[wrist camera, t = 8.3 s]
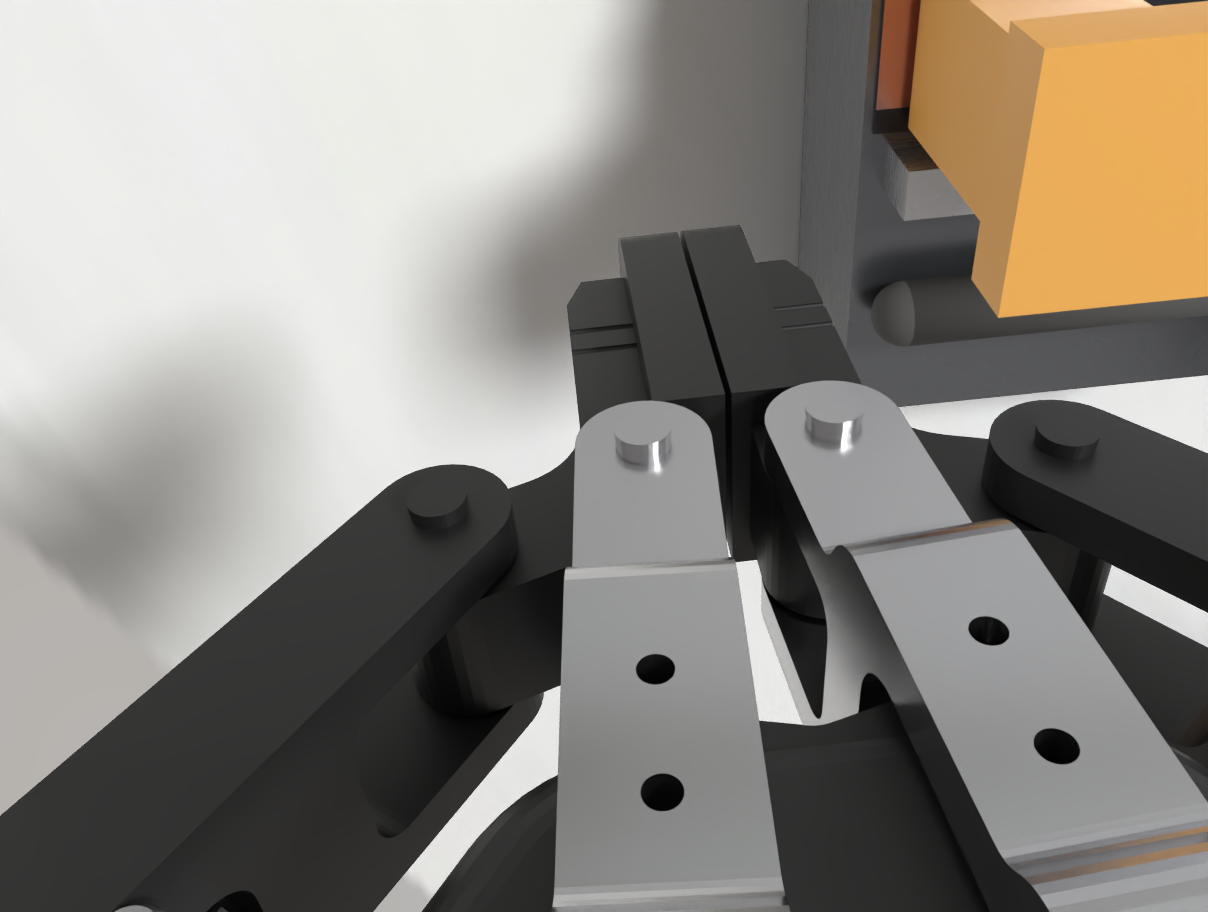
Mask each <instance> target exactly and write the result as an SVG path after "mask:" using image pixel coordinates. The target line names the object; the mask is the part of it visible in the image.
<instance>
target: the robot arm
mask: <svg viewBox="0 0 1208 912" xmlns="http://www.w3.org/2000/svg"><path fill="white" fill-rule="evenodd" d="M619 259H620V272H621V278H615V279H606V280H597V281H588V282H581V284H580V286H579V287H578V289H577V290H576V292H575V294H574V295H573V297H572V298H571V300H570V302H569V303H568V305H567V310H568V319H569V329H570V338H571V347H572V356H573V366H574V375H575V384H576V394H577V403H578V412H579V422H580V431H579V433H578V435H577V438H576V443H575V449H574V450H573V452H572V453H571V454H570V455H569V457H568V458H567V459H566V460H565V461H564V462H563V463H561V464H560V465H559V466H558V467H556V468H555V469H553V470H552V471H550V472H549V473H547V474H545V475H543V476H541V477H539V478H537V479H534V480H532V481H529V482H526V483H524V484H521V485H518V486H515V487H512V488H509V489H508V488H507V486H506V485H505V484H504V483H503V481H502V480H501V479H500V478H498V477H497V476H495V475H494V474H493V473H490V472H488V471H486V470H484V469H481V468H477V467H474V466H468V465H454V464H451V465H439V466H434V467H428V468H425V469H421V470H418V471H415V472H413V473H410V474H408V475H406V476H404V477H402V478H400V479H398V480H397V481H395V482H394V483H392V484H391V485H389V486H388V487H387V488H385V489H384V490H383V491H382V492H381V493H380V494H378V495H377V496H376V497H375V498H374V499H373V500H371V501H370V502H369V503H368V504H367V505H365V506H364V507H363V508H362V509H361V510H360V511H358V512H357V513H356V514H355V515H354V516H353V517H351V518H350V519H349V520H348V521H347V522H345V523H344V524H343V525H342V526H341V527H340V528H338V529H337V530H336V531H335V532H334V533H333V534H331V535H330V536H329V537H328V538H327V539H325V540H324V541H323V542H322V543H321V544H320V545H318V546H317V547H316V548H315V549H314V550H313V551H311V552H310V553H309V554H308V555H307V556H305V557H304V558H303V559H302V560H301V561H300V562H298V563H297V564H296V565H295V566H294V567H293V568H291V569H290V570H289V571H288V572H287V573H285V574H284V575H283V576H282V577H281V578H280V579H278V580H277V581H276V582H275V583H274V584H273V585H271V586H270V587H269V588H268V589H267V590H265V591H264V592H263V593H262V594H261V595H260V596H258V597H257V598H256V599H255V600H254V601H252V602H251V603H250V604H249V605H248V606H247V607H245V608H244V609H243V610H242V611H241V612H240V613H238V614H237V615H236V616H235V617H234V618H232V619H231V620H230V621H229V622H228V623H227V624H225V625H224V626H223V627H222V628H221V629H220V630H218V631H217V632H216V633H215V634H214V635H212V636H211V637H210V638H209V639H208V640H207V641H205V642H204V643H203V644H202V645H201V646H200V647H198V648H197V649H196V650H195V651H194V652H192V653H191V654H190V655H189V656H188V657H187V658H185V659H184V660H183V661H182V662H181V663H180V664H178V665H177V666H176V667H175V668H174V669H172V670H171V671H170V672H169V673H168V674H167V675H165V676H164V677H163V678H162V679H161V680H160V681H158V682H157V683H156V684H155V685H154V686H152V687H151V688H150V689H149V690H148V691H147V692H145V693H144V694H143V695H142V696H141V697H140V698H138V699H137V700H136V701H135V702H134V703H132V704H131V705H130V706H129V707H128V708H127V709H125V710H124V711H123V712H122V713H121V714H120V715H118V716H117V717H116V718H115V719H114V720H112V721H111V722H110V723H109V724H108V725H107V726H105V727H104V728H103V729H102V730H101V731H100V732H98V733H97V734H96V735H95V736H94V737H92V738H91V739H90V740H89V741H88V742H87V743H85V744H84V745H83V746H82V747H81V748H80V749H78V750H77V751H76V752H75V753H74V754H72V755H71V756H70V757H69V758H68V759H67V760H65V761H64V762H63V763H62V764H61V765H60V766H58V767H57V768H56V769H55V770H54V771H52V772H51V773H50V774H49V775H48V776H47V777H45V778H44V779H43V780H42V781H41V782H39V783H38V784H37V785H36V786H35V787H34V788H32V789H31V790H30V791H29V792H28V793H27V794H25V795H24V796H23V797H22V798H21V799H19V800H18V801H17V802H16V803H15V804H14V805H12V806H11V807H10V808H9V809H8V810H7V811H6V812H4V813H3V814H2V815H1V816H0V912H373V911H374V910H375V909H376V908H377V906H378V905H379V904H380V903H381V901H382V900H383V899H384V898H385V897H386V896H387V894H388V893H389V892H390V891H391V890H392V888H393V887H394V886H395V885H396V883H397V882H398V881H399V880H400V879H401V878H402V876H403V875H404V874H405V873H406V872H407V870H408V869H409V868H410V867H411V866H412V864H413V863H414V862H415V861H416V860H417V858H418V857H419V856H420V855H421V854H422V852H423V851H424V850H425V849H426V848H427V846H428V845H429V844H430V843H431V842H432V841H433V839H434V838H435V837H436V836H437V835H438V833H439V832H440V831H441V830H442V829H443V827H444V826H445V825H446V824H447V823H448V821H449V820H450V819H451V818H452V817H453V815H454V814H455V813H456V812H457V811H458V809H459V808H460V807H461V806H462V805H463V803H464V802H465V801H466V800H467V799H468V797H469V796H470V795H471V794H472V793H473V791H474V790H475V789H476V788H477V787H478V785H479V784H480V783H481V782H482V781H483V779H484V778H485V777H486V776H487V775H488V773H489V772H490V771H491V770H492V769H493V767H494V766H495V765H496V764H497V763H498V761H499V760H500V759H501V758H502V757H503V755H504V754H505V753H506V752H507V751H508V749H509V748H510V747H511V746H512V745H513V743H514V742H515V741H516V740H517V739H518V737H519V736H520V735H521V734H522V733H523V731H524V730H525V729H526V728H527V727H528V725H529V724H530V723H531V722H532V721H533V719H534V718H535V716H536V715H537V713H538V711H539V709H540V707H541V705H542V700H543V696H544V692H545V691H547V690H550V689H552V688H555V687H557V686H560V685H561V693H560V726H559V758H558V775H557V776H555V777H553V778H551V779H549V780H547V781H545V782H544V783H542V784H540V785H539V786H537V787H536V788H534V789H533V790H531V791H530V792H528V793H526V794H525V795H523V796H522V797H521V798H520V799H518V800H517V801H516V802H515V803H514V804H512V805H511V806H510V807H509V808H507V809H506V810H505V811H504V812H502V813H501V814H500V815H499V816H498V817H497V818H496V819H495V820H494V821H493V822H492V823H491V824H490V825H489V827H488V828H487V829H486V830H485V831H484V832H483V833H482V834H481V835H480V836H479V837H478V838H477V839H476V841H475V842H474V843H473V844H472V846H471V847H470V848H469V849H468V851H467V852H466V853H465V855H464V856H463V857H462V859H461V860H460V861H459V863H458V864H457V865H456V867H455V868H454V869H453V871H452V872H451V873H450V875H449V876H448V877H447V879H446V880H445V881H444V883H443V884H442V885H441V887H440V888H439V889H438V891H437V892H436V893H435V895H434V896H433V897H432V899H431V900H430V901H429V903H428V904H427V905H426V907H425V908H424V909H423V911H422V912H1208V648H1207V647H1205V646H1203V645H1201V644H1200V643H1198V642H1196V641H1194V640H1192V639H1190V638H1188V637H1186V636H1184V635H1182V634H1180V633H1178V632H1176V631H1174V630H1172V629H1171V628H1169V627H1167V626H1165V625H1163V624H1161V623H1159V622H1157V621H1155V620H1153V619H1151V618H1149V617H1147V616H1145V615H1143V614H1142V613H1140V612H1138V611H1136V610H1134V609H1132V608H1130V607H1128V606H1126V605H1124V604H1122V603H1120V602H1118V601H1116V600H1114V599H1113V598H1111V597H1109V596H1107V595H1105V594H1103V592H1104V589H1105V586H1106V582H1107V579H1108V575H1109V572H1110V569H1111V565H1113V566H1115V567H1117V568H1119V569H1121V570H1123V571H1125V572H1127V573H1129V574H1131V575H1133V576H1135V577H1137V578H1139V579H1141V580H1143V581H1145V582H1147V583H1149V584H1151V585H1153V586H1155V587H1157V588H1159V589H1161V590H1163V591H1165V592H1167V593H1169V594H1172V595H1174V596H1176V597H1178V598H1180V599H1182V600H1184V601H1186V602H1188V603H1190V604H1192V605H1194V606H1196V607H1198V608H1200V609H1202V610H1204V611H1206V612H1208V453H1205V452H1203V451H1200V450H1198V449H1196V448H1193V447H1191V446H1188V445H1186V444H1183V443H1181V442H1179V441H1176V440H1174V439H1171V438H1169V437H1166V436H1164V435H1161V434H1159V433H1157V432H1154V431H1152V430H1149V429H1147V428H1144V427H1142V426H1140V425H1137V424H1135V423H1132V422H1130V421H1127V420H1125V419H1122V418H1120V417H1118V416H1115V415H1113V414H1110V413H1108V412H1105V411H1103V410H1100V409H1098V408H1095V407H1092V406H1089V405H1085V404H1081V403H1077V402H1070V401H1062V400H1038V401H1031V402H1026V403H1022V404H1019V405H1016V406H1014V407H1011V408H1009V409H1007V410H1006V411H1004V412H1003V413H1001V414H1000V415H999V416H998V417H997V418H996V419H995V420H994V422H993V424H992V426H991V430H990V434H989V439H983V438H972V437H962V436H952V435H943V434H936V433H930V432H926V431H921V430H917V429H914V428H912V427H911V426H910V425H909V423H908V422H907V420H906V419H905V417H904V415H903V414H902V412H901V411H900V409H899V408H898V407H897V406H896V404H895V403H894V402H893V401H892V400H891V399H889V398H888V397H887V396H885V395H884V394H882V393H880V392H879V391H876V390H874V389H872V388H870V387H867V386H863V385H862V383H861V381H860V379H859V377H858V375H857V373H856V371H855V368H854V366H853V364H852V362H851V360H850V358H849V356H848V354H847V351H846V349H845V347H844V345H843V343H842V341H841V339H840V337H839V335H838V332H837V330H836V328H835V326H833V325H832V320H831V318H830V315H829V313H828V311H827V309H826V307H824V306H823V301H822V299H821V296H820V294H819V292H818V290H817V288H816V286H815V284H814V282H813V279H812V278H811V277H809V276H808V275H806V274H805V273H804V272H802V271H801V270H799V269H798V268H796V267H795V266H794V265H792V264H791V263H789V262H788V261H787V260H779V261H769V262H760V263H755V261H754V258H753V256H752V253H751V251H750V248H749V246H748V243H747V241H746V238H745V236H744V233H743V231H742V228H741V227H740V225H736V226H727V227H717V228H708V229H699V230H690V231H681V233H680V239H679V236H678V233H677V232H673V233H664V234H655V235H645V236H636V237H627V238H619ZM727 542H728V546H729V550H730V554H731V557H728V550H727ZM750 560H757V561H758V565H759V568H760V572H761V575H762V595H761V611H762V615H763V619H764V622H765V625H766V627H767V630H768V633H769V635H770V638H771V641H772V643H773V646H774V649H775V651H776V654H777V657H778V659H779V662H780V665H781V667H782V670H783V673H784V676H785V678H786V681H787V684H788V686H789V689H790V692H791V694H792V697H793V700H794V702H795V705H796V708H797V710H798V713H799V716H800V718H801V721H802V724H803V725H798V724H788V723H777V722H767V721H759V718H758V711H757V704H756V697H755V690H754V683H753V676H752V670H751V663H750V656H749V649H748V642H747V635H746V628H745V621H744V614H743V607H742V600H741V594H740V587H739V580H738V573H737V567H736V563H735V562H741V561H750Z"/></svg>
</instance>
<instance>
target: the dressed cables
mask: <svg viewBox="0 0 1208 912" xmlns="http://www.w3.org/2000/svg"><path fill="white" fill-rule="evenodd" d="M971 278H972V273H971V274H962V275H952V276H942V277H932V278H923V279H913V280H903V281H898V282H894V283H892V284H889V285H888V286H886V287H885V288H884V289H882V290H881V291H880V292H879V293H878V295H877V296H876V298H875V299H874V302H873V305H872V308H871V321H872V325H873V328H874V329H875V331H876V333H877V334H878V335H879V336H880V337H881V338H882V339H883V340H884V341H886V342H887V343H890V344H892V345H896V346H901V347H903V346H916V345H926V344H936V343H945V342H955V341H965V340H974V339H984V338H994V337H1004V336H1013V335H1023V334H1033V333H1042V332H1052V331H1062V330H1072V329H1081V328H1091V327H1101V326H1111V325H1120V324H1130V323H1140V322H1149V321H1159V320H1169V319H1179V318H1188V317H1198V316H1208V296H1206V297H1197V298H1187V299H1177V300H1167V301H1158V302H1148V303H1138V304H1128V305H1119V306H1109V307H1099V308H1090V309H1080V310H1070V311H1060V312H1051V313H1041V314H1031V315H1021V316H1012V317H1002V318H998V317H997V316H996V314H995V313H994V311H993V310H992V308H991V307H990V305H989V304H988V303H987V301H986V300H985V298H984V297H983V295H982V294H981V292H980V291H979V289H978V288H977V287H976V285H975V284H974V282H973V281H972V279H971Z"/></svg>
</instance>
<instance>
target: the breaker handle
mask: <svg viewBox="0 0 1208 912" xmlns="http://www.w3.org/2000/svg"><path fill="white" fill-rule="evenodd" d="M908 128H909V130H910V131H911V132H912V133H913V135H914V136H915V137H916V139H917V140H918V141H919V143H920V144H921V145H922V146H923V148H924V149H925V150H926V152H927V153H928V154H929V156H930V157H931V158H932V159H933V161H934V162H935V163H936V165H937V166H938V167H939V169H940V170H941V171H942V172H943V174H944V175H945V176H946V178H947V179H948V180H949V182H950V183H951V184H952V185H953V187H954V188H955V189H956V191H957V192H958V193H959V194H960V196H961V197H962V198H963V200H964V201H965V202H966V204H967V205H968V206H969V207H970V209H971V210H972V211H973V213H974V214H975V215H976V217H977V218H978V219H979V220H980V225H979V232H978V238H977V245H976V251H975V258H974V265H973V271H972V278H971V279H972V281H973V282H974V284H975V285H976V287H977V288H978V289H979V291H980V292H981V294H982V295H983V297H984V298H985V300H986V301H987V303H988V304H989V305H990V307H991V308H992V310H993V311H994V313H995V314H996V316H997V317H998V318H1002V317H1012V316H1021V315H1031V314H1041V313H1051V312H1060V311H1070V310H1080V309H1090V308H1099V307H1109V306H1119V305H1128V304H1138V303H1148V302H1158V301H1167V300H1177V299H1187V298H1197V297H1206V296H1208V1H1201V2H1191V3H1181V4H1171V5H1161V6H1152V5H1150V4H1149V3H1147V2H1145V1H1144V0H921V4H920V14H919V24H918V33H917V43H916V53H915V63H914V73H913V83H912V93H911V103H910V113H909V123H908Z"/></svg>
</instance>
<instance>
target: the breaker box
mask: <svg viewBox="0 0 1208 912" xmlns="http://www.w3.org/2000/svg"><path fill="white" fill-rule="evenodd" d="M1144 1H1145V2H1147V3H1149V4H1150V5H1152V6H1161V5H1171V4H1181V3H1191V2H1201V1H1208V0H1144ZM920 4H921V0H809V10H808V35H807V60H806V85H805V110H804V135H803V160H802V185H801V210H800V235H799V260H798V269H799V270H801V271H802V272H804V273H805V274H806V275H808V276H809V277H811V278H812V279H813V282H814V284H815V286H816V288H817V290H818V292H819V294H820V296H821V299H822V301H823V306H824V307H826V309H827V311H828V313H829V315H830V318H831V320H832V325H833V326H835V328H836V330H837V332H838V335H839V337H840V339H841V341H842V343H843V345H844V347H845V349H846V351H847V354H848V356H849V358H850V360H851V362H852V364H853V366H854V368H855V371H856V373H857V375H858V377H859V379H860V381H861V383H862V385H863V386H867V387H870V388H872V389H874V390H876V391H879V392H880V393H882V394H884V395H885V396H887V397H888V398H889V399H891V400H892V401H893V402H894V403H895V404H896V406H897V407H903V406H913V405H922V404H932V403H942V402H951V401H961V400H971V399H980V398H990V397H1000V396H1009V395H1019V394H1029V393H1038V392H1048V391H1058V390H1067V389H1077V388H1087V387H1096V386H1106V385H1116V384H1125V383H1135V382H1145V381H1154V380H1164V379H1174V378H1183V377H1193V376H1203V375H1208V316H1198V317H1188V318H1179V319H1169V320H1159V321H1149V322H1140V323H1130V324H1120V325H1111V326H1101V327H1091V328H1081V329H1072V330H1062V331H1052V332H1042V333H1033V334H1023V335H1013V336H1004V337H994V338H984V339H974V340H965V341H955V342H945V343H936V344H926V345H916V346H903V347H901V346H896V345H892V344H890V343H887V342H886V341H884V340H883V339H882V338H881V337H880V336H879V335H878V334H877V333H876V331H875V329H874V328H873V325H872V321H871V308H872V305H873V302H874V299H875V298H876V296H877V295H878V293H879V292H880V291H881V290H882V289H884V288H885V287H886V286H888V285H889V284H892V283H894V282H898V281H903V280H913V279H923V278H932V277H942V276H952V275H962V274H971V273H972V271H973V265H974V258H975V251H976V245H977V238H978V232H979V225H980V220H979V219H978V218H977V217H976V215H975V214H974V213H973V211H972V210H971V209H970V207H969V206H968V205H967V204H966V202H965V201H964V200H963V198H962V197H961V196H960V194H959V193H958V192H957V191H956V189H955V188H954V187H953V185H952V184H951V183H950V182H949V180H948V179H947V178H946V176H945V175H944V174H943V172H942V171H941V170H940V169H939V167H938V166H937V165H936V163H935V162H934V161H933V159H932V158H931V157H930V156H929V154H928V153H927V152H926V150H925V149H924V148H923V146H922V145H921V144H920V143H919V141H918V140H917V139H916V137H915V136H914V135H913V133H912V132H911V131H910V130H909V128H908V123H909V113H910V103H911V93H912V83H913V73H914V63H915V53H916V43H917V33H918V24H919V14H920Z"/></svg>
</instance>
